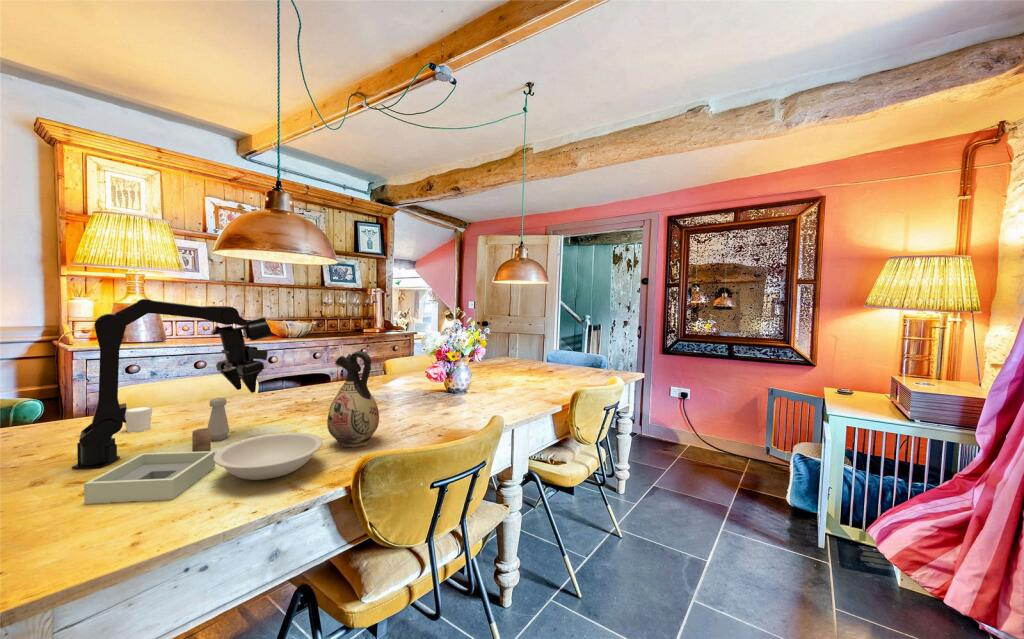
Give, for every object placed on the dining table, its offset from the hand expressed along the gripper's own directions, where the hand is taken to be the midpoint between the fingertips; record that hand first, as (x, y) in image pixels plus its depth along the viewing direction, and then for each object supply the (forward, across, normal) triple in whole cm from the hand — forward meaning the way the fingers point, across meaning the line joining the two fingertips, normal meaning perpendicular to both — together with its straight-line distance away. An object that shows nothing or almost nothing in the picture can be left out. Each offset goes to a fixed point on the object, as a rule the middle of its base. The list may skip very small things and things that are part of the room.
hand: (246, 390), depth 125 cm
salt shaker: (+13, +4, +9) cm, 17 cm away
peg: (+12, -9, +18) cm, 24 cm away
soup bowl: (+14, -33, +12) cm, 38 cm away
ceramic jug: (+20, -33, -13) cm, 40 cm away
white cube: (+10, +33, +20) cm, 40 cm away
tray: (+10, -18, +30) cm, 37 cm away
